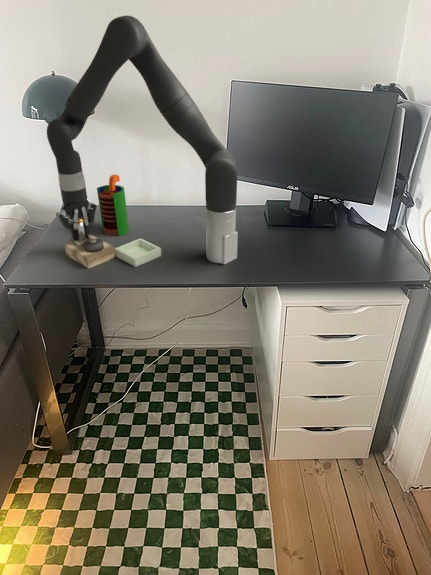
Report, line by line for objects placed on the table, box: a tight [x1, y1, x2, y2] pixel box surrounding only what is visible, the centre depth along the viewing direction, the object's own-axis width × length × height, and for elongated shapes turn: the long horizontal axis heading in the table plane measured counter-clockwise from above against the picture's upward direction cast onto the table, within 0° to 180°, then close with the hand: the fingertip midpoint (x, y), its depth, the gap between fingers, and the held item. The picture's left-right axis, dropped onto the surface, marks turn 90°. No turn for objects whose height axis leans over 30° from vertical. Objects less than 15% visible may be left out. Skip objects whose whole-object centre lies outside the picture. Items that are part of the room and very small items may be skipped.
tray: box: [114, 238, 162, 268], centre depth 147 cm, size 11×11×3 cm
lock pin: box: [77, 217, 86, 242], centre depth 146 cm, size 3×3×8 cm
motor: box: [96, 174, 130, 237], centre depth 160 cm, size 10×9×20 cm
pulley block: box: [64, 234, 116, 269], centre depth 146 cm, size 14×10×7 cm
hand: (81, 237), depth 147 cm, fingers closed on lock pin, 2 cm apart
